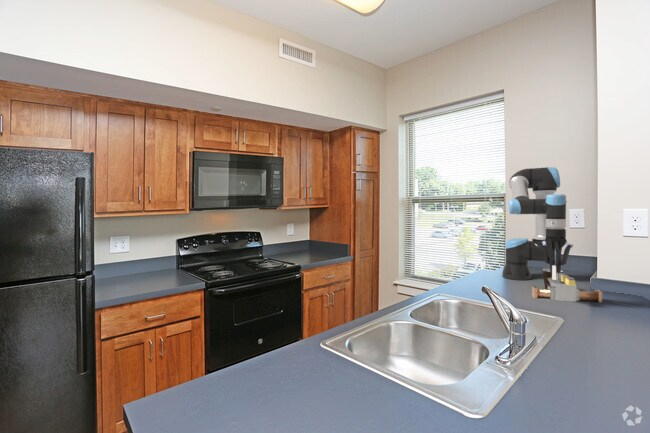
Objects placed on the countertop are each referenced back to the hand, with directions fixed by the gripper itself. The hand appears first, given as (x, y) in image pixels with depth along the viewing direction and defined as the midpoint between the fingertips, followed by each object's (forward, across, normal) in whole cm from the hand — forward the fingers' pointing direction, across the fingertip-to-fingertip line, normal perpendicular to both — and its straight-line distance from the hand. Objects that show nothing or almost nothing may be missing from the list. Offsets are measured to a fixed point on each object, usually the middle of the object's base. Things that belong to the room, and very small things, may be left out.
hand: (555, 279), depth 152 cm
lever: (+2, +3, +4) cm, 5 cm away
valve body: (+10, 0, +8) cm, 13 cm away
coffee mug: (+11, -8, +21) cm, 24 cm away
